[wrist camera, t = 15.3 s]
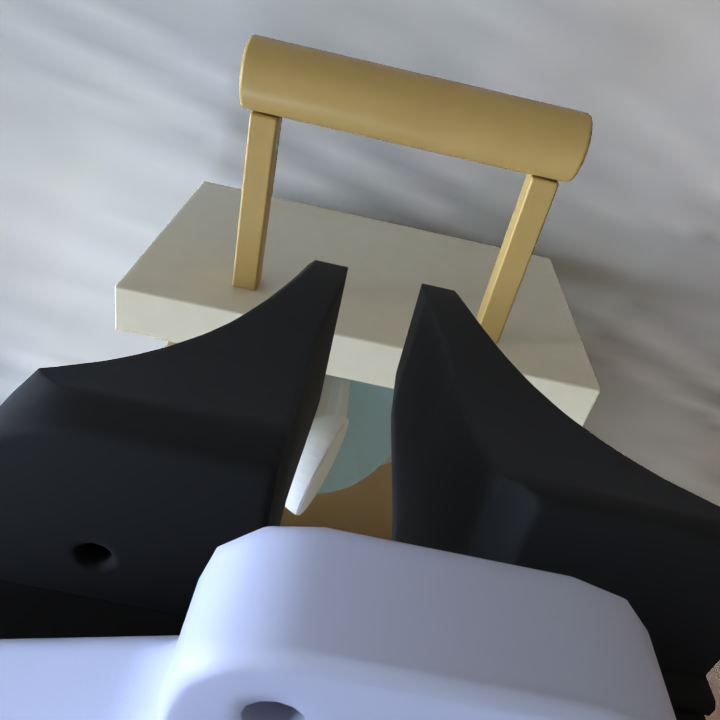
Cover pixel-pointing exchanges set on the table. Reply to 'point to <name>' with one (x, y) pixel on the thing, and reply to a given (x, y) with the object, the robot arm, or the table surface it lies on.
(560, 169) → the drawer
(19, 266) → the table surface
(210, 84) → the table surface
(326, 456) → the pacifier
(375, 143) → the table surface
